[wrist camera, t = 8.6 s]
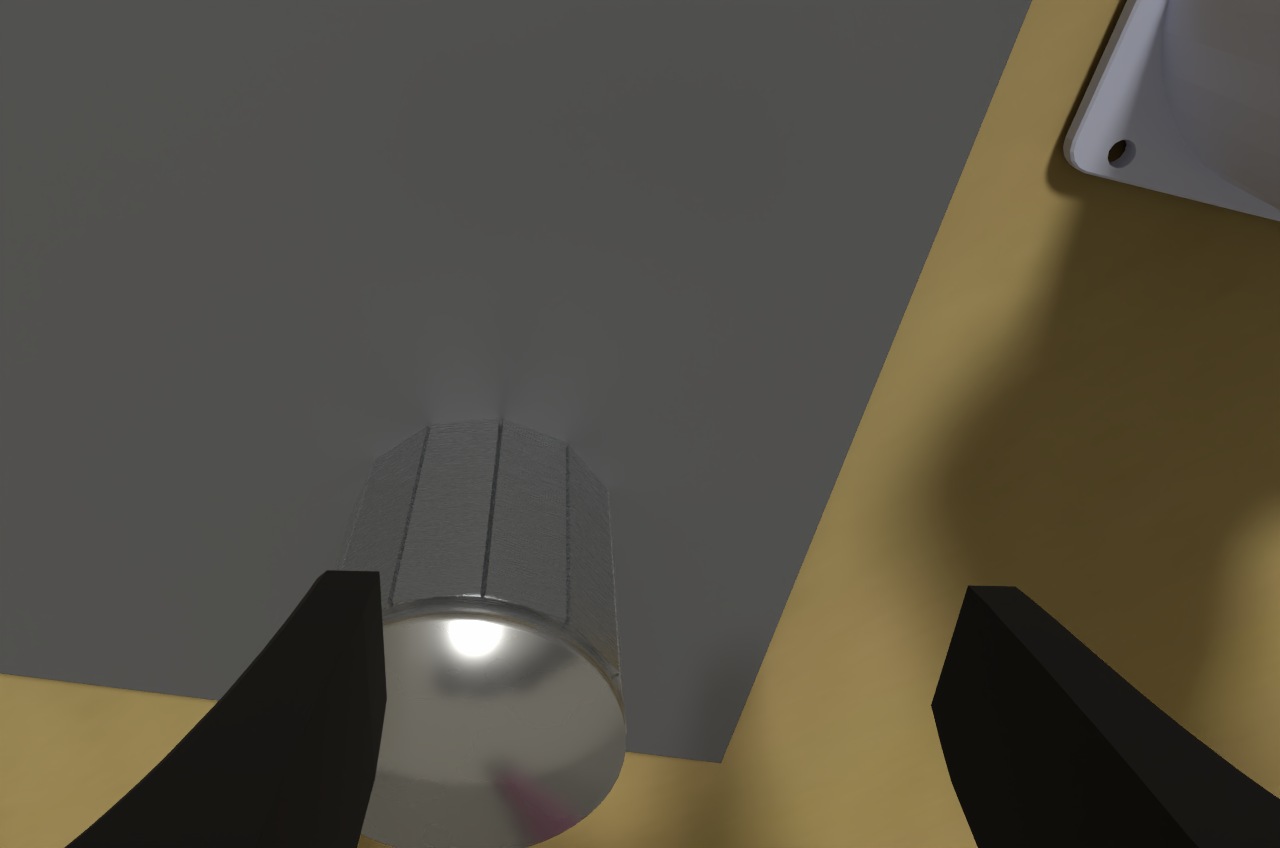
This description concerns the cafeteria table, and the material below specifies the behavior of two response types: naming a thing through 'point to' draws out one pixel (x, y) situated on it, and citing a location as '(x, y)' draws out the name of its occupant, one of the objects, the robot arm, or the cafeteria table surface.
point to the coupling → (490, 636)
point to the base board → (451, 297)
